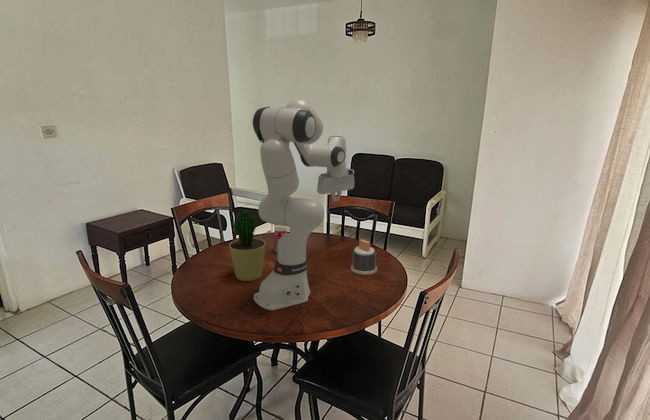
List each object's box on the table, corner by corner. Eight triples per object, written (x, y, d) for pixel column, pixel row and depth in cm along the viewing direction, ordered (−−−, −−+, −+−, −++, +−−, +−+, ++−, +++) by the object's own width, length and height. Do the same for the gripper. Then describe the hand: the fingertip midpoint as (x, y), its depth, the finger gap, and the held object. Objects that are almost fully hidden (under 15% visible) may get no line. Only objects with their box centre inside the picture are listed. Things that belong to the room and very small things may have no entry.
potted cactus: (259, 284, 153) (256, 215, 145) (224, 281, 156) (219, 213, 148) (271, 269, 167) (269, 206, 159) (240, 266, 170) (236, 204, 162)
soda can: (289, 249, 192) (288, 227, 188) (286, 254, 185) (285, 231, 182) (275, 248, 192) (275, 226, 189) (272, 253, 185) (271, 231, 182)
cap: (364, 263, 160) (364, 246, 158) (350, 257, 167) (350, 240, 165) (378, 258, 166) (379, 241, 164) (364, 252, 173) (364, 236, 170)
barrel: (363, 277, 160) (364, 259, 158) (345, 268, 169) (345, 251, 167) (382, 270, 167) (383, 253, 165) (363, 262, 176) (364, 245, 174)
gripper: (323, 175, 160) (322, 205, 164) (356, 170, 173) (356, 198, 176) (314, 173, 165) (314, 202, 169) (347, 168, 177) (347, 196, 181)
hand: (335, 200), depth 172 cm, fingers closed
